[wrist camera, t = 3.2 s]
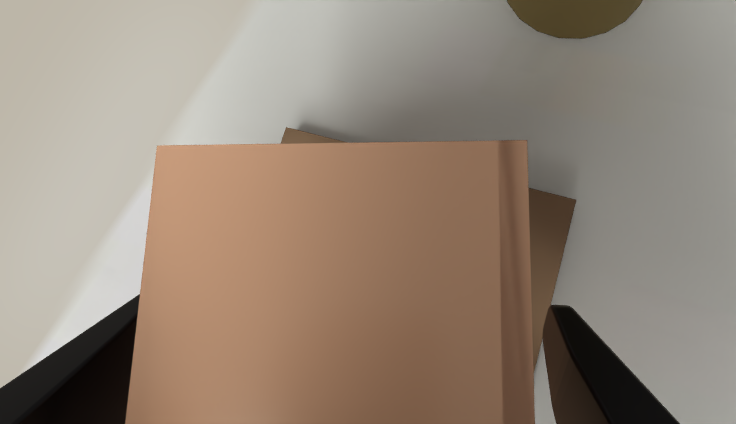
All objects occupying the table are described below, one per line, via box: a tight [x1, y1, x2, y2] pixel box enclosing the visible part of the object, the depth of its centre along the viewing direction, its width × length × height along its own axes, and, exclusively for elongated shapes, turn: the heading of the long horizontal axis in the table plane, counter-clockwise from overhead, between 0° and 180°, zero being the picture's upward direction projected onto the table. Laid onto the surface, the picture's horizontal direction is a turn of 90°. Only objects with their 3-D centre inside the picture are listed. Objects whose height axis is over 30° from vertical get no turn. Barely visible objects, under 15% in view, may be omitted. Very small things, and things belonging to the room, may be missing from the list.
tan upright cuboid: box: [125, 140, 535, 424], centre depth 12 cm, size 7×7×9 cm
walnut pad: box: [281, 127, 576, 375], centre depth 17 cm, size 12×12×1 cm
